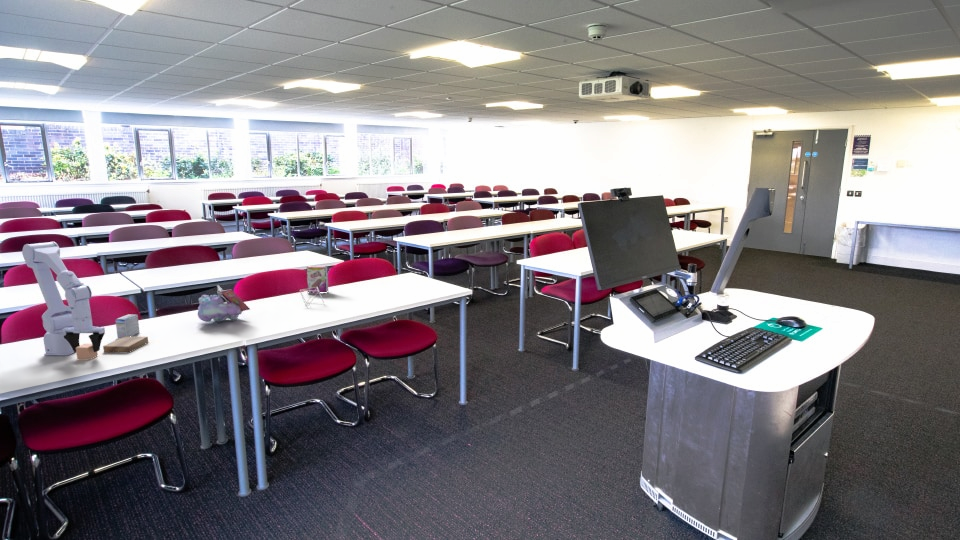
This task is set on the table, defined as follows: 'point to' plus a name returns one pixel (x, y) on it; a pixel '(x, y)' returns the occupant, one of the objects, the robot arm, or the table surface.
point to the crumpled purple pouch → (221, 306)
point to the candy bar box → (317, 278)
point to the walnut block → (125, 344)
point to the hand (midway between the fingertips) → (86, 351)
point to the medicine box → (127, 325)
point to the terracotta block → (85, 351)
